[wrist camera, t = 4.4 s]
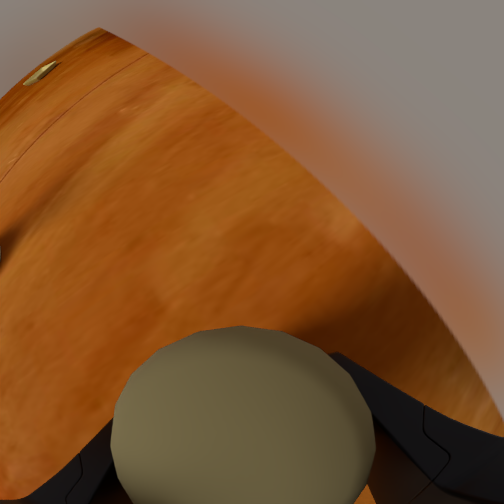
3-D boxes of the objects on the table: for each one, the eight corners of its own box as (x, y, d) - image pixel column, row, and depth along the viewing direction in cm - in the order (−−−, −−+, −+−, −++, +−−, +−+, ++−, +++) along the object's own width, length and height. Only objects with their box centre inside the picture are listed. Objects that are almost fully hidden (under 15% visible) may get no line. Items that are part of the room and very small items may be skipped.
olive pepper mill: (295, 333, 14) (350, 231, 4) (331, 432, 12) (445, 520, 2) (189, 366, 14) (38, 329, 4) (223, 464, 11) (136, 586, 1)
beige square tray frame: (43, 72, 47) (41, 67, 45) (59, 65, 46) (56, 60, 44) (25, 89, 44) (22, 84, 42) (39, 82, 42) (36, 77, 40)
